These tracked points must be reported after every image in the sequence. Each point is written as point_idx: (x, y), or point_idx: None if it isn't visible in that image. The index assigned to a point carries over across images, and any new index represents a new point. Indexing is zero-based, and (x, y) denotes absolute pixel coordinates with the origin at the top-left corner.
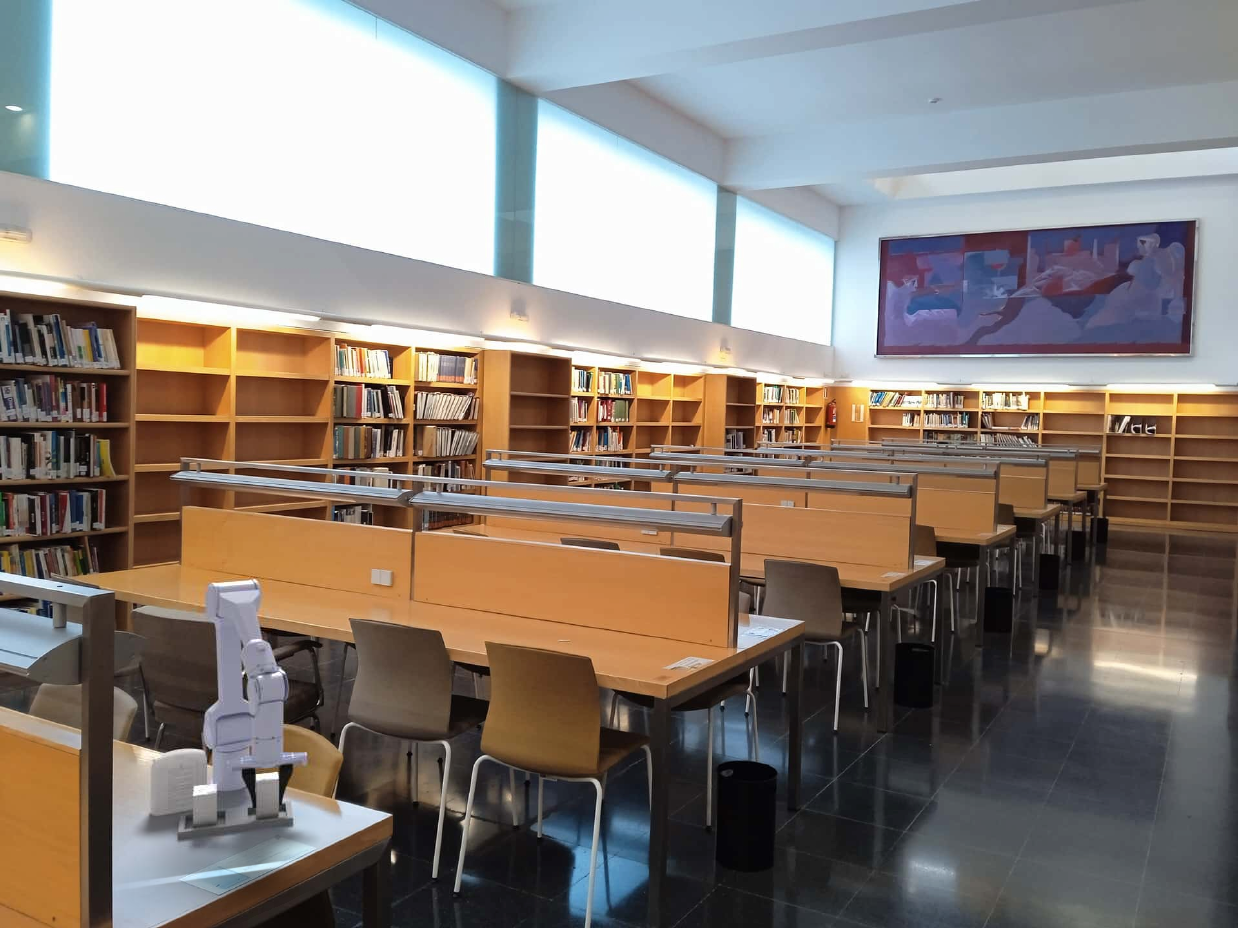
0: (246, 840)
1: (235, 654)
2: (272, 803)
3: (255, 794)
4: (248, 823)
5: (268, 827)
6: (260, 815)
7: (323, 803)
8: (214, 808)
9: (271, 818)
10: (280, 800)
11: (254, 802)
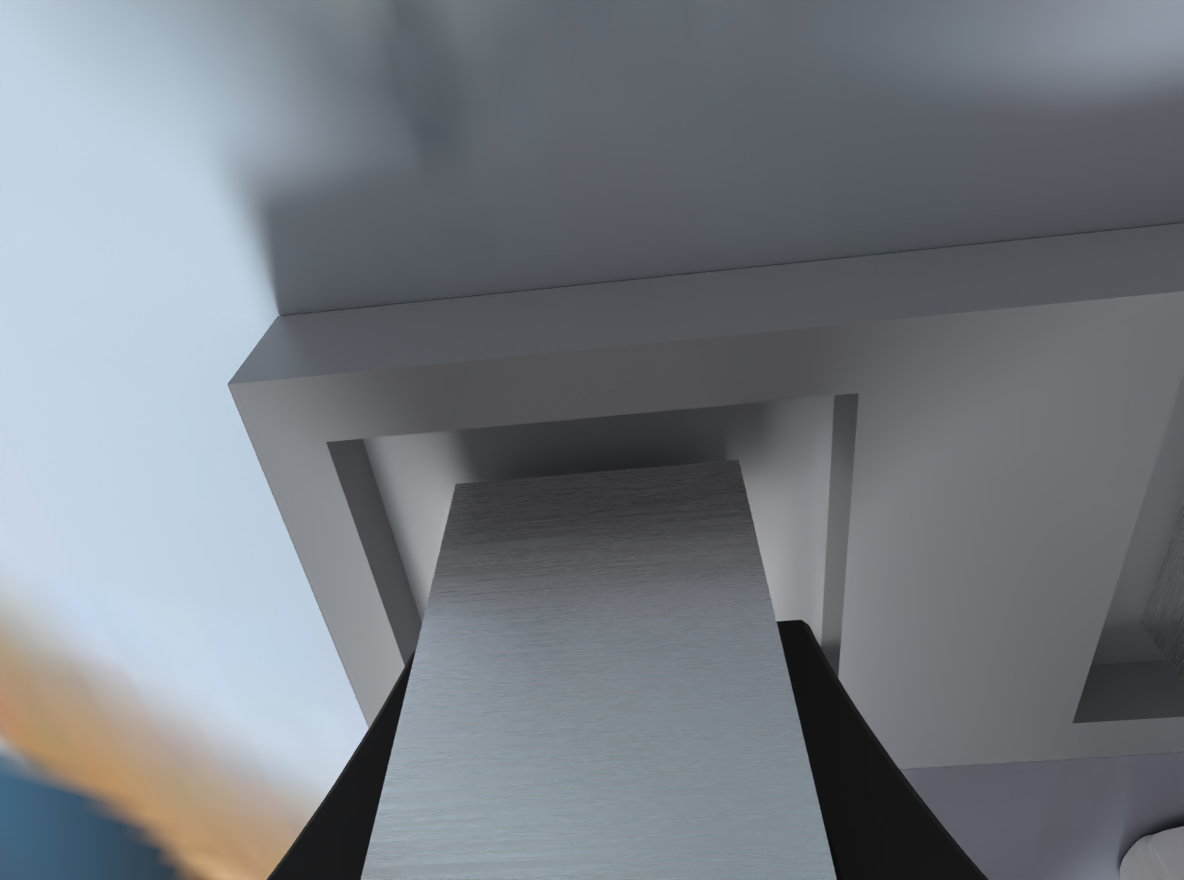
0: (863, 32)
1: None
2: (519, 620)
3: (818, 792)
4: (858, 320)
5: (572, 308)
6: (691, 492)
7: (152, 775)
8: None
9: None
10: None
11: (802, 678)
